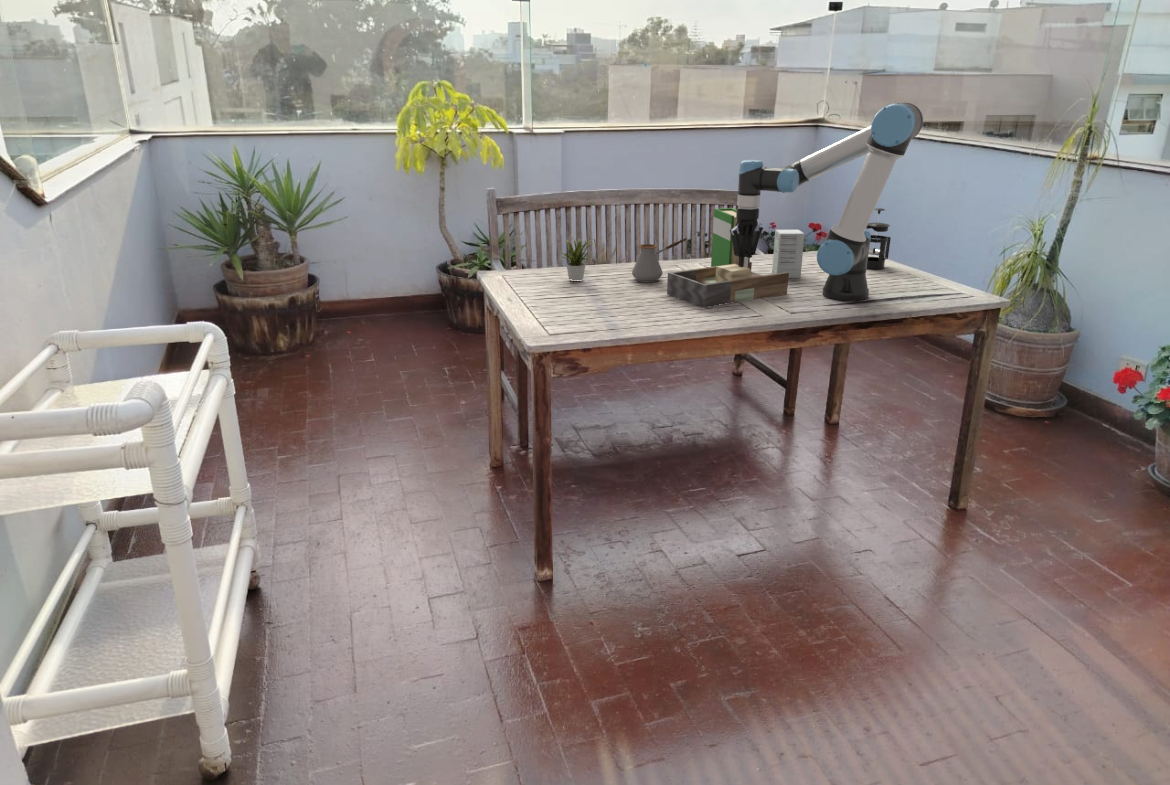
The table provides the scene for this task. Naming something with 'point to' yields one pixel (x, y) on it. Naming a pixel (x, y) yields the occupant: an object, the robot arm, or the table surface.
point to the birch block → (731, 272)
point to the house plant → (576, 260)
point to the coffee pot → (649, 263)
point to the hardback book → (723, 237)
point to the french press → (879, 262)
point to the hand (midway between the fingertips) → (743, 275)
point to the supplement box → (788, 252)
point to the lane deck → (723, 286)
